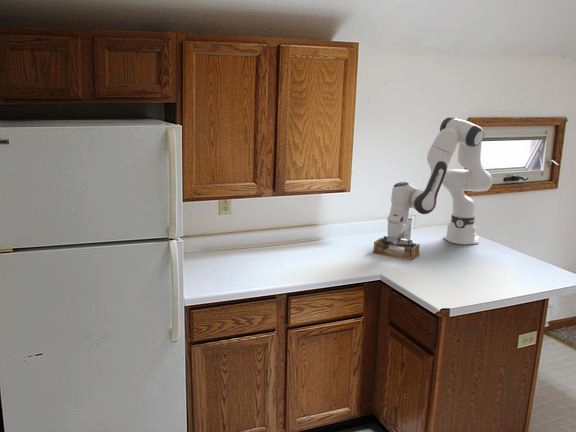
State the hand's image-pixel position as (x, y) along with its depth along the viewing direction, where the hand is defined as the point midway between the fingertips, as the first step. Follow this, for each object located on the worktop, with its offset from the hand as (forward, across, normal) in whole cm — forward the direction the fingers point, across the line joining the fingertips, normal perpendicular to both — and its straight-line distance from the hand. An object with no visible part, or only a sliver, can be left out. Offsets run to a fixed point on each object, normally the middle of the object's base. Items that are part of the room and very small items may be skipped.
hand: (397, 242), depth 287 cm
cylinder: (+2, 0, 0) cm, 2 cm away
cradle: (+6, 0, 0) cm, 6 cm away
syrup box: (+6, -20, -4) cm, 22 cm away
